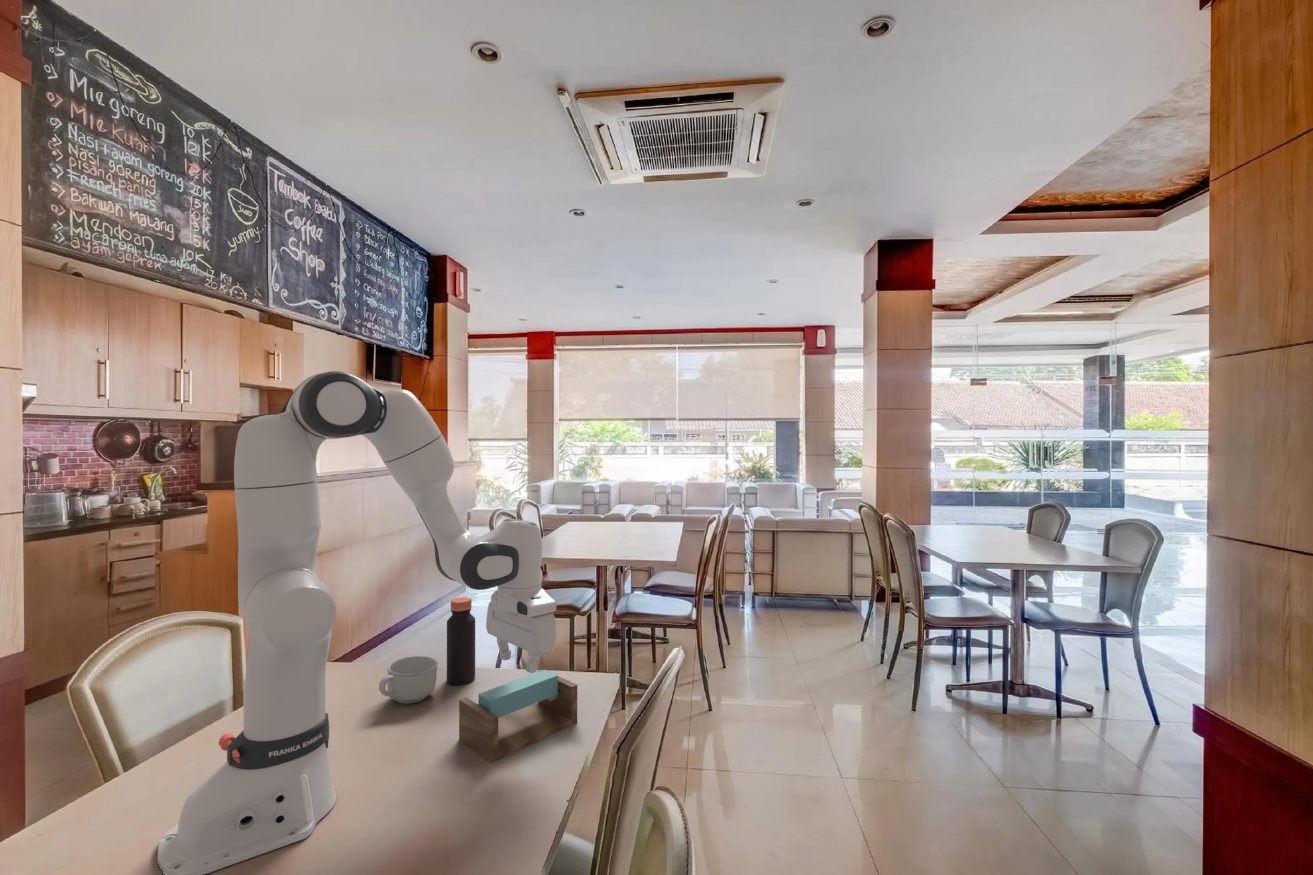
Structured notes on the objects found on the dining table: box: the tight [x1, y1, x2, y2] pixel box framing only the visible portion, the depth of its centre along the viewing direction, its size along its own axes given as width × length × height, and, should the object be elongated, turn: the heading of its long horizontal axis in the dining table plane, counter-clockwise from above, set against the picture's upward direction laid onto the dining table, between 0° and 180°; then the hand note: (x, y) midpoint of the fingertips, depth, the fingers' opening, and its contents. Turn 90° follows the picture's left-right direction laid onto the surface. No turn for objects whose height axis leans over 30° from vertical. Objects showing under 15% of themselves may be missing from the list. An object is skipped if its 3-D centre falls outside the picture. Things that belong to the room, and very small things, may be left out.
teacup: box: [378, 655, 439, 705], centre depth 129 cm, size 14×11×8 cm
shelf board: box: [477, 669, 559, 719], centre depth 116 cm, size 16×4×4 cm, turn 137°
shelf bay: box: [458, 668, 578, 764], centre depth 116 cm, size 20×12×8 cm, turn 137°
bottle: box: [446, 596, 476, 686], centre depth 140 cm, size 7×7×20 cm
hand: (518, 665), depth 115 cm, fingers open, 8 cm apart
